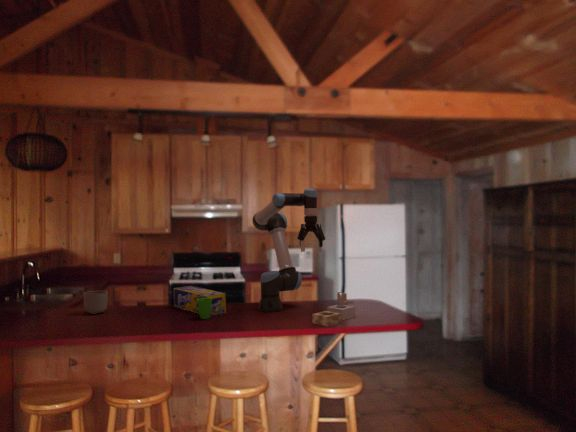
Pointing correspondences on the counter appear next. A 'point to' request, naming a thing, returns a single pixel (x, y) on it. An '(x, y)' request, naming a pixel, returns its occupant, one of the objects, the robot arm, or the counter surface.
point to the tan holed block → (343, 311)
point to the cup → (204, 307)
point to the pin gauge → (340, 300)
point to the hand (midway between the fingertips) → (311, 252)
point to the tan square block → (327, 318)
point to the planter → (95, 301)
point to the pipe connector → (346, 299)
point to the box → (190, 294)
